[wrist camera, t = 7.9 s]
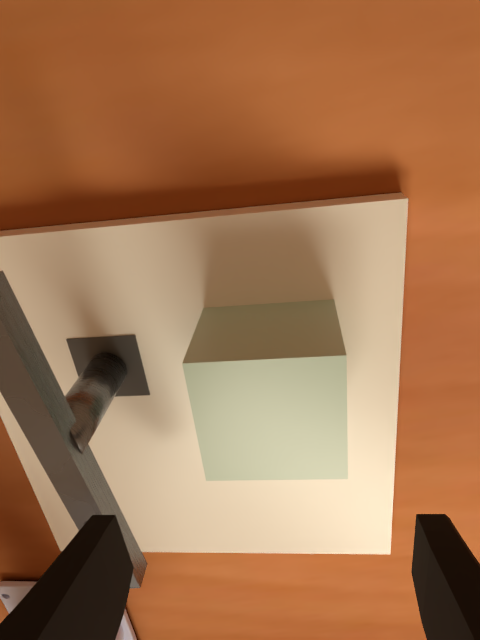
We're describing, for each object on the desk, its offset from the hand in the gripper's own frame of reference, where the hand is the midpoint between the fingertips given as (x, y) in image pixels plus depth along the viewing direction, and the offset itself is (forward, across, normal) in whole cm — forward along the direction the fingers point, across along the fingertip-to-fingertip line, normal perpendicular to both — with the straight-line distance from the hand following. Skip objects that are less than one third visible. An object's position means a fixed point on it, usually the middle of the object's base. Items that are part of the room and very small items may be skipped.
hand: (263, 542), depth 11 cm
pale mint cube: (+8, 0, 0) cm, 8 cm away
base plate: (+9, +4, +3) cm, 11 cm away
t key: (+8, +7, 0) cm, 11 cm away
